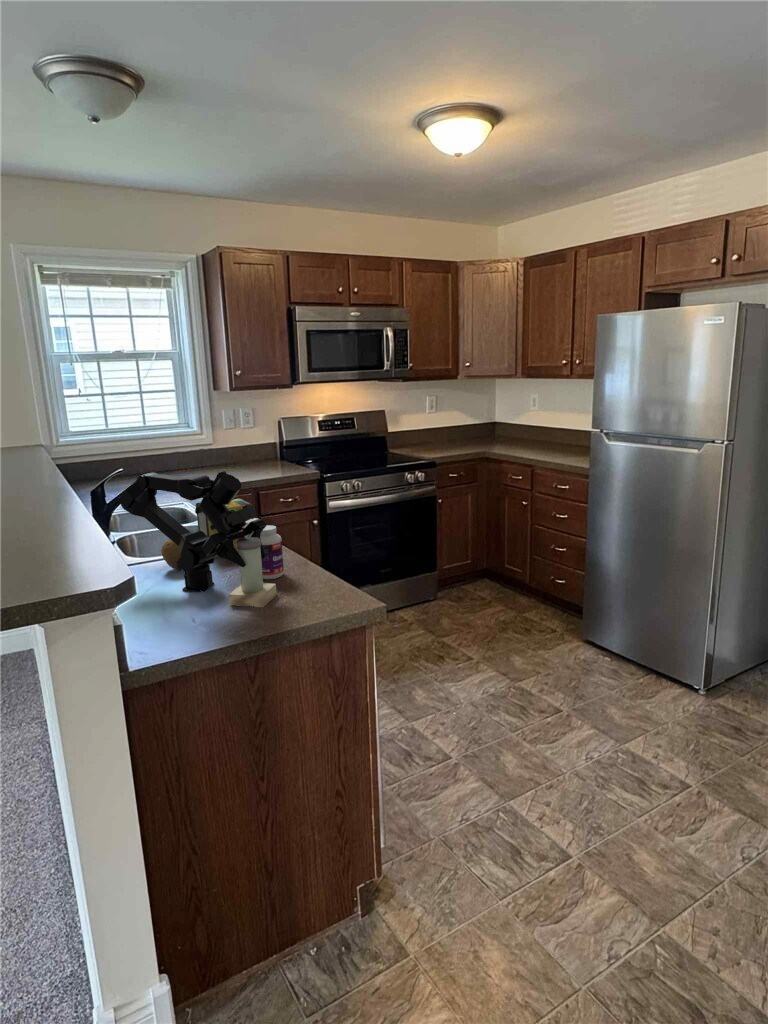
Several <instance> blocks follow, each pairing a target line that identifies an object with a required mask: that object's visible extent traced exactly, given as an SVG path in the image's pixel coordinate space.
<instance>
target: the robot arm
mask: <svg viewBox="0 0 768 1024" xmlns="http://www.w3.org/2000/svg"><path fill="white" fill-rule="evenodd" d="M241 489H242V482H241V481H240V479H238V478H237V477H236V476H234V475H232V474H229V473H227V472H226V471H224V470H222V471H219V472H217V475H216V476H215V478H214V479H210V477H209V476H208V475H206V474H202V475H201V474H199V475H192V476H186V477H183V476H175V475H168V474H161V473H157V472H148V473H142V474H140V475H139V476H138V477H137V478H136V480H135V481H134V482H132V484H130V485H129V486H128V487H127V488H126V489H125V490H124V491H123V492H122V493H121V495H120V498H119V503H120V506H121V508H122V509H123V510H124V511H126V512H127V513H129V514H131V515H133V516H135V517H136V516H137V517H141V518H144V519H145V520H147V521H148V522H149V523H150V524H151V525H152V526H154V527H155V528H157V530H158V531H160V533H162V534H164V536H166V537H167V538H168V540H169V539H171V540H172V541H173V542H174V543H175V544H177V545H178V547H179V551H180V555H181V557H180V559H179V560H178V561H177V566H178V568H179V570H178V571H183V576H184V585H185V587H183V588H182V591H183V592H197V593H198V592H200V593H204V592H206V591H207V590H208V589H209V588H211V587H212V586H214V585H215V582H214V581H213V573H212V572H213V571H212V570H211V567H210V566H211V564H214V562H215V558H216V557H215V556H219V557H220V558H221V559H225V560H227V561H229V562H231V563H233V564H235V565H237V566H238V567H240V566H241V567H245V566H246V564H245V562H244V561H243V559H242V558H241V556H240V555H239V553H238V552H237V550H236V549H235V548H234V544H233V541H234V540H236V539H239V538H242V537H244V538H249V537H255V538H259V539H260V540H261V538H260V535H261V532H262V531H263V529H264V528H265V527H266V526H267V523H266V522H265V521H264V519H262V518H261V519H260V518H258V519H257V520H254V521H251V522H250V523H249V524H248V525H247V526H246V528H245V529H243V528H242V527H243V526H245V525H246V521H248V520H250V519H254V518H255V515H257V510H256V508H255V506H253V504H252V503H251V504H252V505H251V504H247V505H245V506H243V507H242V509H241V510H238V511H235V510H231V511H229V509H228V508H227V507H226V504H229V503H230V502H231V501H232V500H234V499H235V497H236V496H237V495H238V493H239V492H240V491H241ZM158 491H161V492H168V493H175V494H178V495H179V497H180V498H181V499H182V498H183V499H185V500H187V501H192V502H193V501H195V500H199V499H201V501H200V502H196V503H195V509H194V512H195V515H197V514H198V513H202V512H203V513H204V515H205V516H206V517H207V519H208V520H209V521H210V523H211V524H212V525H211V526H210V528H211V530H214V529H216V531H217V532H218V533H216V534H213V535H210V536H209V537H208V536H207V535H206V534H205V533H204V532H202V531H196V532H191V531H190V530H189V529H187V528H186V527H185V526H184V525H183V524H181V523H180V522H179V521H178V520H176V519H175V518H174V517H173V516H171V514H169V513H168V512H167V511H166V510H164V509H163V508H162V507H160V505H158V503H157V498H156V495H157V493H158ZM260 550H261V558H262V559H264V558H265V557H266V556H265V552H264V549H263V546H262V543H261V546H260Z"/></svg>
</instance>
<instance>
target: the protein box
mask: <svg viewBox="0 0 768 1024" xmlns="http://www.w3.org/2000/svg"><path fill="white" fill-rule="evenodd" d="M247 504H251V505H252V506H253V504H252V503H251V502H249V501H246V500H244V499H242V498H236V499H235V498H233V500H232V501H231V502H230V503H229V504H226V507H227V508H228V509H229V511H231V510H235V511H238V510H241V509H242V507H243V506H245V505H247ZM196 519H197V529H198V531H202V532H204V533H205V534H206V535H207V536H208V537H209V536H210V535H213V534H216V533H218V532H217V531H216V529H214V530H211V528H210V526H211V525H212V524H211V523H210V521H209V520H208V519H207V517H206V516H205V515H204V513H203V512H202V513H198V514H196ZM198 531H197V532H198ZM237 540H238V539H236V540H234V541H233V544H234V548H235V549H236V550H237V552H238V548H237V543H236V541H237ZM218 557H219V556H215V558H218Z"/></svg>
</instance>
